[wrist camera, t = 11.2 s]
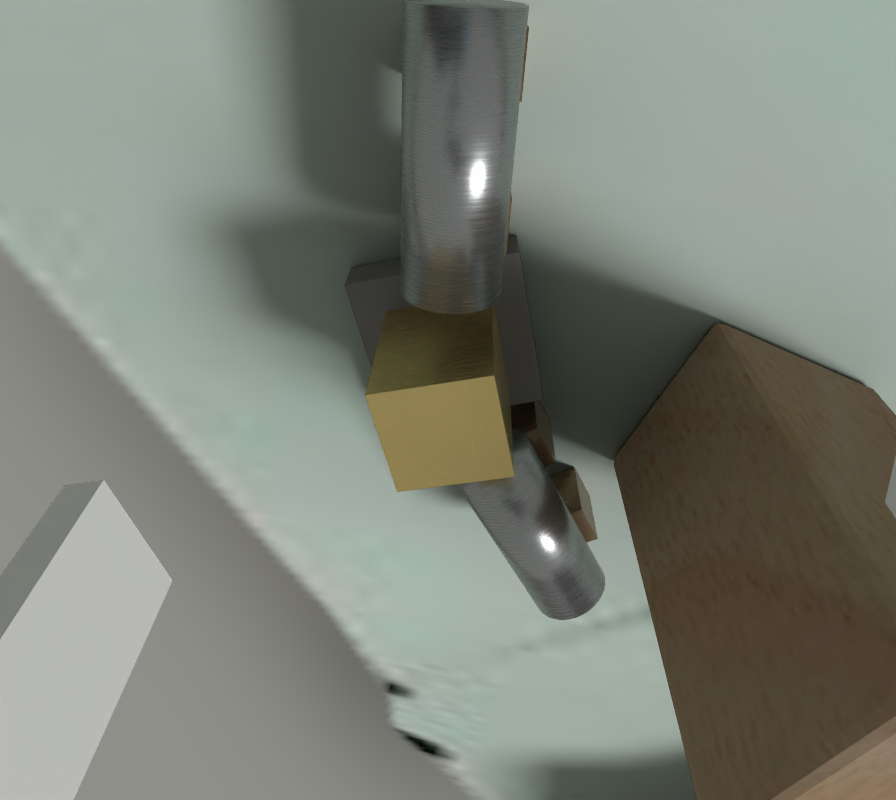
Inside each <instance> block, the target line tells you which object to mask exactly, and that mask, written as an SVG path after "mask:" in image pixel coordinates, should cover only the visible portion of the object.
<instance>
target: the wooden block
mask: <svg viewBox="0 0 896 800" xmlns="http://www.w3.org/2000/svg"><path fill="white" fill-rule="evenodd" d="M895 457H896V415H895V414H894V413H893V412H892V410H891V409H890V408H889V407H888V406H887V405H886V403H885V402H884V401H883V400H882V399H881V398H880V396H879V395H878V394H877V393H876V392H875V391H874V390H873V389H871V388H869V387H866V386H864V385H862V384H860V383H857V382H855V381H853V380H850V379H848V378H846V377H844V376H841V375H839V374H837V373H835V372H832V371H830V370H828V369H825V368H823V367H821V366H819V365H816V364H814V363H812V362H809V361H807V360H805V359H803V358H800V357H798V356H796V355H793V354H791V353H789V352H787V351H784V350H782V349H780V348H777V347H775V346H773V345H771V344H768V343H766V342H764V341H762V340H759V339H757V338H755V337H752V336H750V335H748V334H746V333H743V332H741V331H739V330H736V329H734V328H732V327H730V326H727V325H724V324H716V325H714V326H713V327H712V328H711V329H710V330H709V332H708V333H707V334H706V336H705V337H704V338H703V340H702V341H701V342H700V344H699V345H698V346H697V348H696V349H695V350H694V352H693V353H692V354H691V356H690V357H689V358H688V360H687V361H686V363H685V364H684V365H683V367H682V368H681V369H680V371H679V372H678V373H677V375H676V376H675V377H674V379H673V380H672V381H671V383H670V384H669V385H668V387H667V388H666V389H665V391H664V392H663V393H662V395H661V396H660V397H659V399H658V400H657V401H656V403H655V404H654V405H653V407H652V408H651V409H650V411H649V412H648V413H647V415H646V416H645V417H644V419H643V420H642V421H641V423H640V424H639V425H638V427H637V428H636V429H635V431H634V432H633V434H632V435H631V436H630V438H629V439H628V440H627V442H626V443H625V444H624V446H623V447H622V448H621V450H620V451H619V452H618V454H617V455H616V457H615V460H614V467H615V471H616V475H617V479H618V483H619V487H620V491H621V495H622V499H623V503H624V507H625V511H626V515H627V519H628V524H629V528H630V532H631V536H632V540H633V544H634V548H635V552H636V556H637V560H638V564H639V568H640V572H641V576H642V580H643V584H644V588H645V592H646V596H647V600H648V604H649V608H650V612H651V616H652V620H653V624H654V628H655V633H656V637H657V641H658V645H659V649H660V653H661V657H662V661H663V665H664V669H665V673H666V677H667V681H668V685H669V689H670V693H671V697H672V701H673V705H674V709H675V713H676V717H677V721H678V725H679V729H680V733H681V738H682V742H683V746H684V750H685V754H686V758H687V762H688V766H689V770H690V774H691V778H692V782H693V786H694V790H695V794H696V798H697V800H896V518H895V517H894V515H893V514H892V512H891V511H890V509H889V508H888V506H887V505H886V503H885V499H886V495H887V491H888V487H889V482H890V478H891V474H892V470H893V465H894V461H895Z"/></svg>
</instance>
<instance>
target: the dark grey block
mask: <svg viewBox="0 0 896 800" xmlns="http://www.w3.org/2000/svg"><path fill="white" fill-rule="evenodd" d="M345 287H346V290H347V293H348V296H349V299H350V302H351V305H352V308H353V311H354V315H355V318H356V321H357V324H358V327H359V330H360V333H361V336H362V339H363V342H364V345H365V348H366V351H367V354H368V357H369V360H370V363H371V366H372V365H373V361H374V357H375V354H376V350H377V346H378V342H379V338H380V334H381V330H382V326H383V322H384V318H385V314H386V311H392V310H397V309H403V308H409V307H415V306H414V305H412V304H411V303H409V302H408V301H406V300H405V299H404V297H403V296H402V294H401V291H400V288H401V258H398V259H393V260H387V261H382V262H377V263H372V264H367V265H361V266H356V267H352V268H351V271H350V273H349V276H348V278H347V281H346V283H345ZM494 306H495V312H496V317H497V322H498V328H499V333H500V338H501V343H502V349H503V354H504V359H505V364H506V370H507V375H508V380H509V389H510V405H515V404H522V403H528V402H535V401H541V400H544V399H543V392H542V384H541V377H540V371H539V365H538V359H537V353H536V347H535V341H534V335H533V329H532V323H531V318H530V312H529V306H528V300H527V294H526V288H525V282H524V276H523V270H522V264H521V258H520V252H519V246H518V240H517V236H512V237H508V241H507V251H506V256H504V264H503V274H502V285H501V295H500V299H499V300H498V302H497V303H496V304H494Z"/></svg>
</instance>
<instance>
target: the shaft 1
mask: <svg viewBox="0 0 896 800" xmlns="http://www.w3.org/2000/svg"><path fill="white" fill-rule="evenodd" d="M528 10H529V5H526V4H523V3H518V2H512V1H504V0H403V2H402V145H401V288H400V291H401V294H402V296H403V297H404V299H405V300H406V301H408V302H409V303H411V304H412V305H414V306H416V307H418V308H421V309H424V310H427V311H432V312H437V313H444V314H467V313H474V312H478V311H482V310H485V309H487V308H490V307H491V306H493V305H494V304H496V303H497V302H498V300H499V299H500V295H501V285H502V274H503V264H504V256H506V251H507V241H508V231H509V221H510V211H511V201H512V197H511V183H512V173H513V163H514V152H515V142H516V132H517V122H518V112H519V102H521V101H522V91H523V81H524V71H525V61H526V51H527V41H528V31H529V27H528V25H527V20H528Z"/></svg>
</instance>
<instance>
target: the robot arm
mask: <svg viewBox="0 0 896 800" xmlns="http://www.w3.org/2000/svg"><path fill="white" fill-rule="evenodd" d="M885 503H886V505H887V506H888V508H889V509H890V511H891V512H892V514H893V515H894V517H895V518H896V457H895V461H894V465H893V470H892V474H891V478H890V482H889V487H888V491H887V495H886V499H885ZM171 582H172V579H171V578H170V577H169V575H168V574H167V572H166V571H165V569H164V568H163V566H162V565H161V563H160V562H159V561H158V559H157V557H156V556H155V554H154V553H153V551H152V550H151V549H150V547H149V546H148V544H147V543H146V541H145V540H144V538H143V537H142V535H141V534H140V532H139V531H138V529H137V528H136V527H135V525H134V524H133V522H132V521H131V519H130V518H129V516H128V515H127V513H126V512H125V511H124V509H123V508H122V506H121V505H120V503H119V502H118V500H117V499H116V497H115V496H114V494H113V493H112V491H111V490H110V488H109V487H108V485H107V484H106V483H105V481H104V480H99V481H91V482H84V483H76V484H69V485H64V487H63V488H62V490H61V491H60V492H59V494H58V495H57V496H56V498H55V499H54V501H53V502H52V503H51V505H50V506H49V508H48V509H47V511H46V512H45V513H44V515H43V516H42V518H41V519H40V520H39V522H38V523H37V525H36V526H35V528H34V529H33V531H32V532H31V533H30V535H29V536H28V537H27V539H26V540H25V542H24V543H23V544H22V546H21V547H20V549H19V550H18V552H17V553H16V554H15V556H14V557H13V559H12V560H11V562H10V563H9V564H8V566H7V567H6V568H5V570H4V571H3V573H2V574H1V576H0V800H74V798H75V795H76V793H77V791H78V789H79V786H80V784H81V782H82V780H83V778H84V775H85V773H86V771H87V769H88V766H89V764H90V762H91V760H92V758H93V755H94V753H95V751H96V749H97V747H98V744H99V742H100V740H101V738H102V735H103V733H104V731H105V729H106V727H107V724H108V722H109V720H110V718H111V716H112V713H113V711H114V709H115V707H116V705H117V702H118V700H119V698H120V696H121V693H122V691H123V689H124V687H125V684H126V682H127V680H128V678H129V675H130V673H131V671H132V669H133V667H134V665H135V662H136V660H137V658H138V656H139V653H140V651H141V649H142V647H143V645H144V642H145V640H146V638H147V636H148V634H149V631H150V629H151V627H152V625H153V622H154V620H155V618H156V616H157V614H158V611H159V609H160V607H161V605H162V602H163V600H164V598H165V596H166V594H167V591H168V589H169V587H170V585H171Z"/></svg>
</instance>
